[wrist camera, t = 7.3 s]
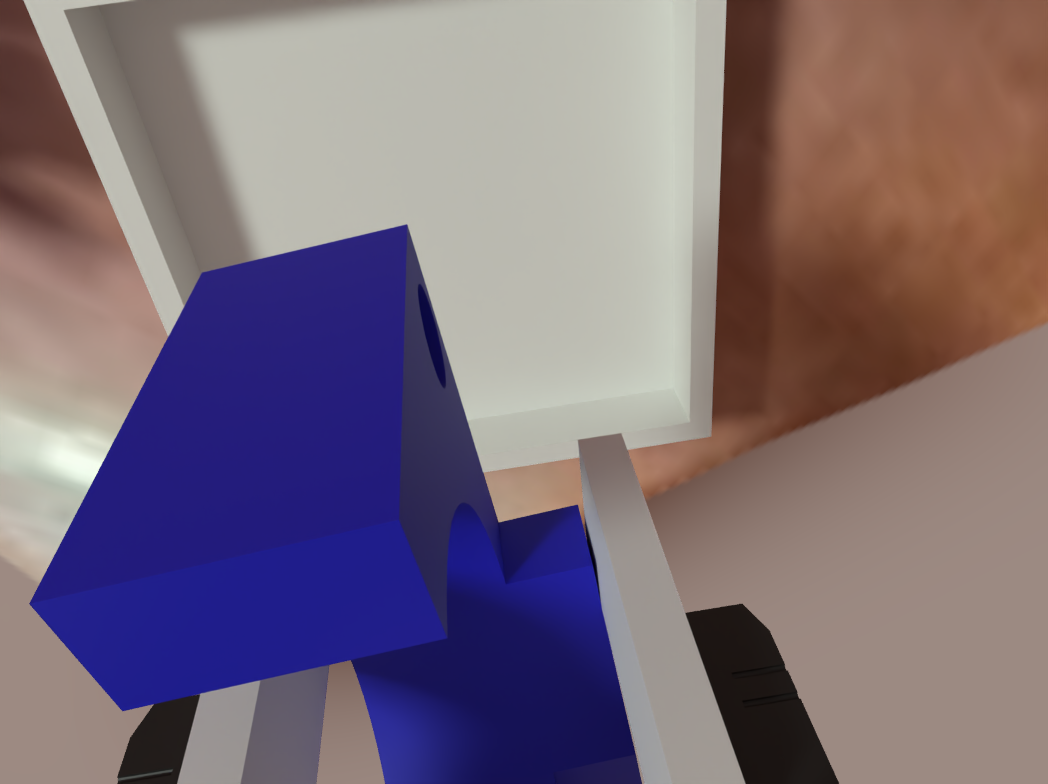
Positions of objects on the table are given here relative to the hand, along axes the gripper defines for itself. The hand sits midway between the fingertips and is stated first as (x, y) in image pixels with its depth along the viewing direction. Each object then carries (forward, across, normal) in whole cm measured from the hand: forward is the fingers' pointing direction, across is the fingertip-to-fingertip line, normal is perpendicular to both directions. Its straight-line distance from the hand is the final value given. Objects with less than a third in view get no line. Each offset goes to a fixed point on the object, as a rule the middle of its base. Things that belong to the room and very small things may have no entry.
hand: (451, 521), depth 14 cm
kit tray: (+14, 0, 0) cm, 14 cm away
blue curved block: (+1, 0, 0) cm, 1 cm away
